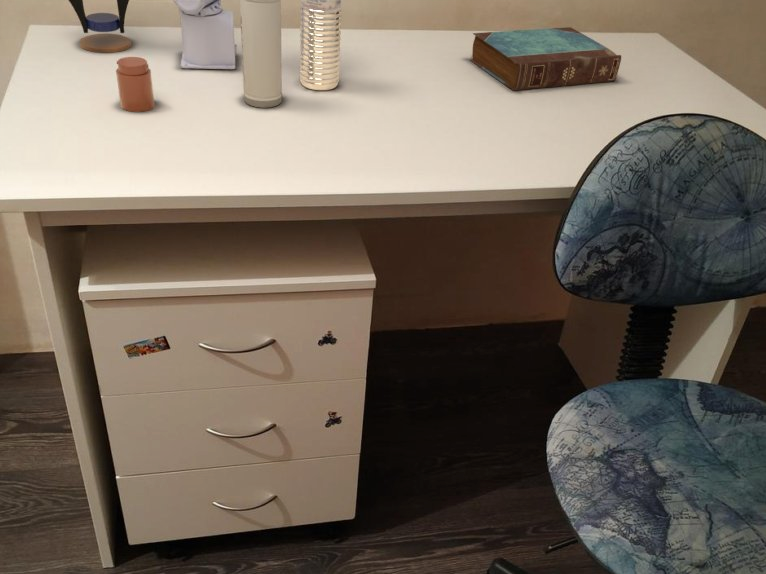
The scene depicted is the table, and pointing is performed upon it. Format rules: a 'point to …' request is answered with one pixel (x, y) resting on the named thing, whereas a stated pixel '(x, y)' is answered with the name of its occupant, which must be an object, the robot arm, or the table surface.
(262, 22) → the travel mug
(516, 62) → the book
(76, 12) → the robot arm
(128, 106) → the jar
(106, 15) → the lid
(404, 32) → the table surface
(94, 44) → the coaster
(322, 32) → the water bottle
